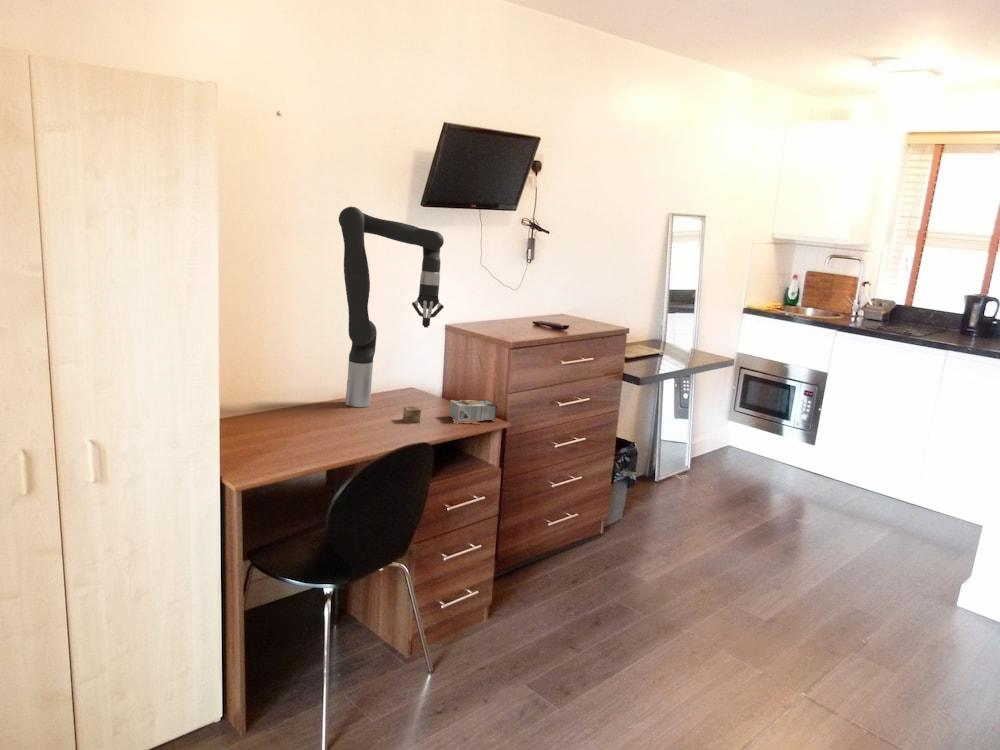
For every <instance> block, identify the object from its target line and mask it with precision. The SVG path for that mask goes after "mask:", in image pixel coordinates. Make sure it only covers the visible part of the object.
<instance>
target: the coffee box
mask: <svg viewBox="0 0 1000 750" xmlns="http://www.w3.org/2000/svg"><path fill="white" fill-rule="evenodd" d="M497 408H498V405H497V404H495V402H492V401H491V400H489V399H452V400H450V401H449V409H448V411H449V412H448V416H449V417H451V419H452V418H453V419H455V420H456V421H479V422H485V421H484V420H495V421H496V415H497V410H498V409H497ZM453 419H452V420H453Z"/></svg>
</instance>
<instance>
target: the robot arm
mask: <svg viewBox="0 0 1000 750" xmlns="http://www.w3.org/2000/svg"><path fill="white" fill-rule="evenodd" d="M338 223H339V225H340V227H341V228H340V229H341V232H342V239H343V246H344V249H343V250H344V251H343V274H344V275H343V276H344V284H345V294H346V303H347V308H348V309H347V310H348V337H349V339H350V341H351V349H350V351H349V355H348V365H347V366H348V367H347V379H346V380H347V381H346V390H345V391H346V392H345V406H349V407H352V408H353V407H354V408H367V407H370V405H371V393H372V381H373V366H374V357H375V354H376V353H375V352H376V346H377V345H376V343H377V327H376V325H375V324H374V323H373V322H372V321H371V320H370V317H369V297H370V290H371V282H370V281H371V280H370V278H371V277H370V270H369V263H368V257H367V253H366V247H365V234H370V235H374V236H375V235H376V236H378V237H383V238H386V239H390V240H393V241H396V242H400V243H405V244H408V245H414V246H418V247H422V263H421V272H420V279H419V289H418V297H417V298H416V300H415V301H412V302H411V306H412V307H413V308H414V310H415V312H416V313H417V314H418V316H419V317H422V322H421V324H422V327H423V328H427V329H428V328H429V327H430V325H431V318H435V317H437V315H438V314H439V313H440V312H441V311H442V310H443V309H444V304H442V303H441V302H440V299H439V293H440V278H441V277H440V276H441V273H440V272H441V257H440V255H441V248H442V247H443V245H444V241H445V240H444V237H443V235H442V234H441V232H439V231H435V230H430V229H425V228H420V227H417V226H415V225H411V224H408V223H403V222H399V221H394V220H389V219H382V218H378V217H376V216H375V217H374V216H372V215H369V214H366V213H364V212H362V211H361V209H359V208H358V207H355V206H347V207H344V208H343V209H342V210H341V212H340V213H339V215H338ZM418 306H420V307H421V309H422V311H421V310H420V309H419V307H418ZM436 307H437V308H436ZM435 308H436V309H435ZM433 309H435V310H434V311H433ZM432 311H433V312H432Z"/></svg>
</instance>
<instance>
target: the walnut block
mask: <svg viewBox="0 0 1000 750" xmlns="http://www.w3.org/2000/svg"><path fill="white" fill-rule="evenodd" d="M402 413H403V414H402V420H403V421H404V422H405V423H406V424H420V423H421V415H422V414H421V413H422V410H421V409H420V408H419V407H418V406H403V412H402Z"/></svg>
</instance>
